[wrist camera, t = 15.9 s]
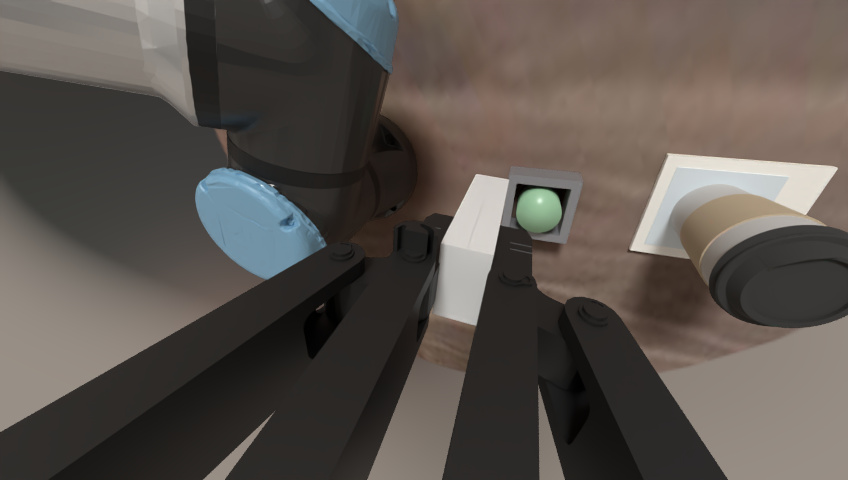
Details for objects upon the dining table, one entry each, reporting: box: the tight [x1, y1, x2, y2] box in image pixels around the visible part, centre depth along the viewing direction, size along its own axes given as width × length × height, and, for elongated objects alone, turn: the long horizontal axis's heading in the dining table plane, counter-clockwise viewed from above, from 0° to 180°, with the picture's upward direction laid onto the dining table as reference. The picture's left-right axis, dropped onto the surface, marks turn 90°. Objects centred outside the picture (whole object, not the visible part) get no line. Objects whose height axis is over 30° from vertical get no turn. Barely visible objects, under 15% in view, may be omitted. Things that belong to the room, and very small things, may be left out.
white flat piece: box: [629, 153, 838, 259], centre depth 34 cm, size 14×12×1 cm
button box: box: [501, 166, 583, 244], centre depth 39 cm, size 8×8×4 cm
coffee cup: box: [671, 184, 848, 328], centre depth 28 cm, size 9×9×15 cm
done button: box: [516, 185, 562, 233], centre depth 38 cm, size 5×5×4 cm
